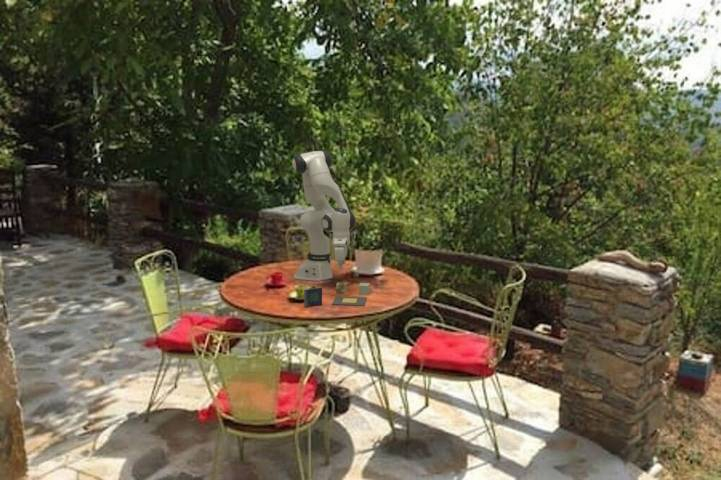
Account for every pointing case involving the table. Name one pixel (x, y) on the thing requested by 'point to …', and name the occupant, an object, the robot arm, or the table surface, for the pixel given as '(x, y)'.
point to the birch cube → (341, 288)
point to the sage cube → (364, 288)
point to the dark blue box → (313, 296)
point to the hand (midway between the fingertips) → (341, 266)
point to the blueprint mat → (349, 301)
